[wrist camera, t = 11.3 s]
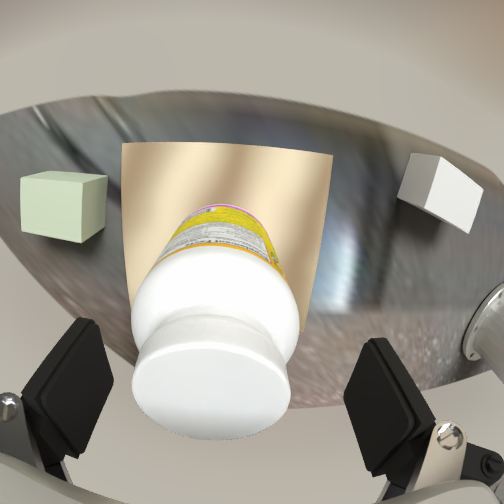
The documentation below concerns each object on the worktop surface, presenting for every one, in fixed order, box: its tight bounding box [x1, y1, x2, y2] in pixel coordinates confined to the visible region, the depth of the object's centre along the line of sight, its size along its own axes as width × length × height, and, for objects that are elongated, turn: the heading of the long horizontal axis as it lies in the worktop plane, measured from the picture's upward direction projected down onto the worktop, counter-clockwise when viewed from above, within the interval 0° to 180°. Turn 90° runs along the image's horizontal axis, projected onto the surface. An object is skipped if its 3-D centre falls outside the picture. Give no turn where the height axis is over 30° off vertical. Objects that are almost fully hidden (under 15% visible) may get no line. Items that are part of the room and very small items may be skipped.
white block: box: [397, 153, 483, 234], centre depth 18 cm, size 6×4×4 cm, turn 73°
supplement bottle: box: [131, 204, 300, 440], centre depth 13 cm, size 7×7×13 cm
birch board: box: [121, 142, 333, 333], centre depth 20 cm, size 14×14×2 cm
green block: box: [20, 171, 108, 243], centre depth 17 cm, size 6×4×4 cm, turn 78°
